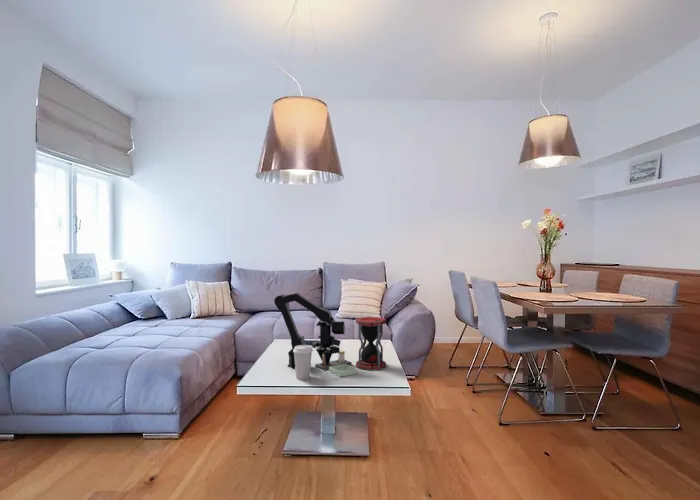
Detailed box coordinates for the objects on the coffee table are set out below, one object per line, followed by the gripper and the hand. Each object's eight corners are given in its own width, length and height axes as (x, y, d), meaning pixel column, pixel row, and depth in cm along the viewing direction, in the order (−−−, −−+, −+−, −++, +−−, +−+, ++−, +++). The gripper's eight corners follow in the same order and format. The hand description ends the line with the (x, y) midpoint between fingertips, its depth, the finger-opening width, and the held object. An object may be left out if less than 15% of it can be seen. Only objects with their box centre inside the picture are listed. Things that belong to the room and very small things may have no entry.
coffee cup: (296, 381, 194) (296, 350, 194) (290, 376, 203) (290, 345, 203) (315, 379, 198) (315, 348, 198) (309, 373, 207) (309, 343, 207)
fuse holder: (323, 370, 212) (323, 367, 212) (315, 366, 218) (315, 364, 218) (351, 364, 222) (351, 362, 222) (343, 361, 229) (343, 358, 229)
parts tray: (340, 377, 201) (340, 371, 201) (328, 372, 209) (328, 367, 209) (356, 373, 207) (356, 368, 207) (345, 368, 215) (345, 363, 215)
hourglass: (367, 372, 209) (366, 323, 209) (350, 364, 223) (349, 318, 222) (392, 367, 217) (392, 319, 217) (374, 360, 231) (374, 315, 231)
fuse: (340, 365, 221) (340, 352, 221) (336, 364, 224) (336, 351, 224) (346, 364, 223) (345, 351, 223) (342, 362, 226) (342, 350, 226)
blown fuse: (324, 368, 215) (324, 355, 215) (320, 367, 218) (320, 354, 218) (330, 367, 217) (330, 354, 217) (326, 365, 220) (326, 353, 220)
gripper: (348, 335, 215) (348, 365, 215) (328, 329, 230) (328, 357, 230) (330, 337, 208) (330, 368, 208) (311, 331, 223) (311, 360, 223)
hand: (325, 363), depth 218 cm, fingers closed on blown fuse, 4 cm apart
